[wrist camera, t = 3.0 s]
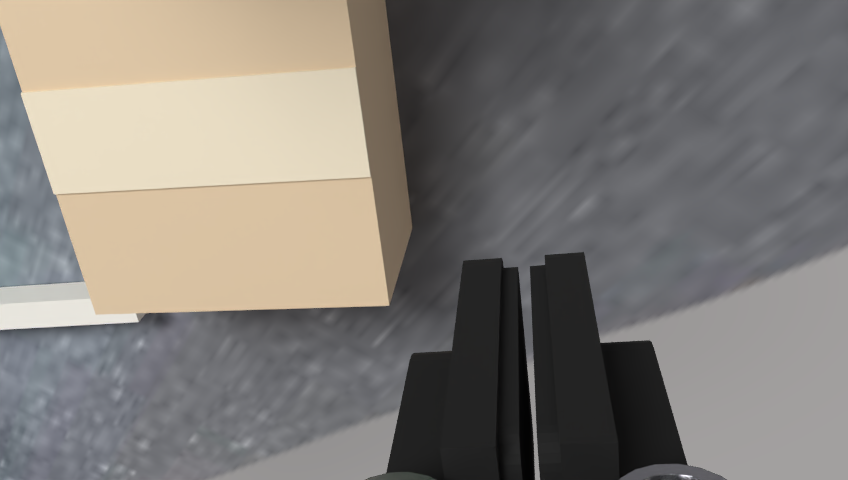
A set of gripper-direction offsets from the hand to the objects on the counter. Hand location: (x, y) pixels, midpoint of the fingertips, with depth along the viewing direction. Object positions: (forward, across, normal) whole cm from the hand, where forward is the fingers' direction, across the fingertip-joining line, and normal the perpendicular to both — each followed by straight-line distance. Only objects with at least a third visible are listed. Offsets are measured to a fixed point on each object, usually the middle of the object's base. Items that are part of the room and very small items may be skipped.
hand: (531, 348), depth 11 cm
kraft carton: (+18, +9, 0) cm, 20 cm away
